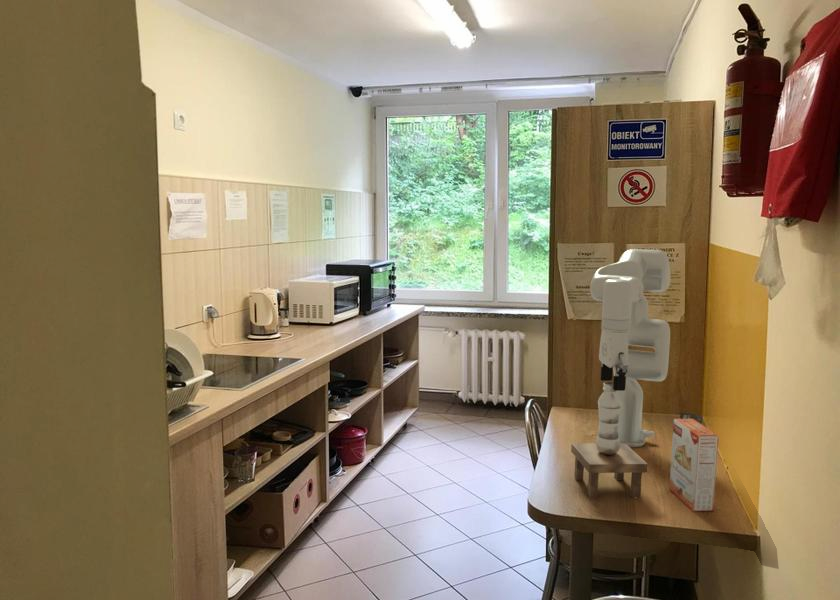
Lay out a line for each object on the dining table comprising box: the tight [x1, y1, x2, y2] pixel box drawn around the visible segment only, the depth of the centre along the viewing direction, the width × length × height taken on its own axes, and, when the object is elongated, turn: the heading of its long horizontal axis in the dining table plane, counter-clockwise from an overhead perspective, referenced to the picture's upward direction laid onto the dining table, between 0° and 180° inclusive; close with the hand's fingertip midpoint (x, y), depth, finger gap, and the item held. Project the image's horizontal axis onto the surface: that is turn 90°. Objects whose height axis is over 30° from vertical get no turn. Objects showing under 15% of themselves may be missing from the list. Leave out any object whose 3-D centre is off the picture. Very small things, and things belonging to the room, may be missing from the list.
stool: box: [570, 442, 649, 499], centre depth 185 cm, size 16×16×10 cm
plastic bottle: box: [595, 381, 622, 455], centre depth 183 cm, size 6×7×20 cm
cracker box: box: [669, 418, 720, 512], centre depth 177 cm, size 14×6×21 cm, turn 4°
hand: (612, 385), depth 182 cm, fingers open, 9 cm apart
